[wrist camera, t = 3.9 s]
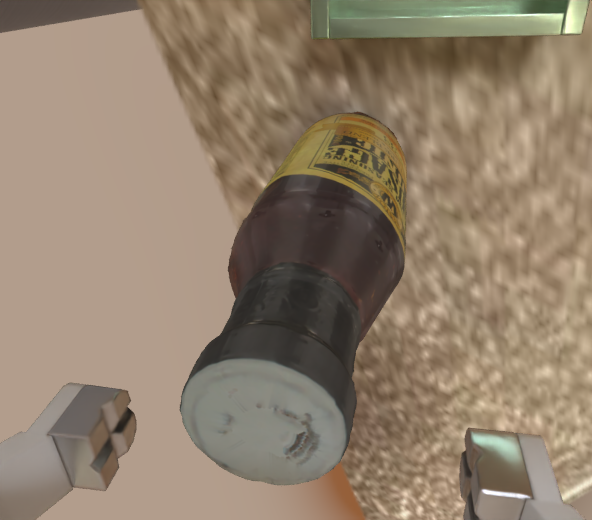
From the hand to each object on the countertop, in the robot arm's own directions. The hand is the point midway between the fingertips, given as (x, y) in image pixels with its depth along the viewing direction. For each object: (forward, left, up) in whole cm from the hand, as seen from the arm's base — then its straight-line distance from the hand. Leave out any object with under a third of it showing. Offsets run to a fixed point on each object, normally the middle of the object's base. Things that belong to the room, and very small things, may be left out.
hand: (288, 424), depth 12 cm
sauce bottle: (0, 0, -19) cm, 19 cm away
